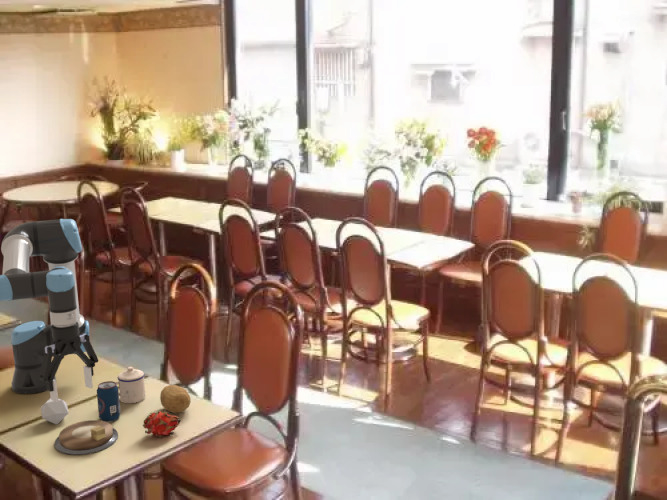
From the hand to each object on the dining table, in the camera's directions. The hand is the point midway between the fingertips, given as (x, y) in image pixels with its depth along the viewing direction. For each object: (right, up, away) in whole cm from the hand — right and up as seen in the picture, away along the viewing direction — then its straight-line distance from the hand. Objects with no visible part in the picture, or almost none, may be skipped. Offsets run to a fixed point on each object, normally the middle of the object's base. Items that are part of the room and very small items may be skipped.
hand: (72, 393), depth 239 cm
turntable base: (0, -17, +14) cm, 22 cm away
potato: (+24, -12, +34) cm, 43 cm away
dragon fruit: (+23, -16, +18) cm, 33 cm away
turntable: (0, -17, +14) cm, 22 cm away
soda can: (+3, -14, +29) cm, 32 cm away
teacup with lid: (+6, -10, +43) cm, 45 cm away
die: (-14, -14, +28) cm, 35 cm away
